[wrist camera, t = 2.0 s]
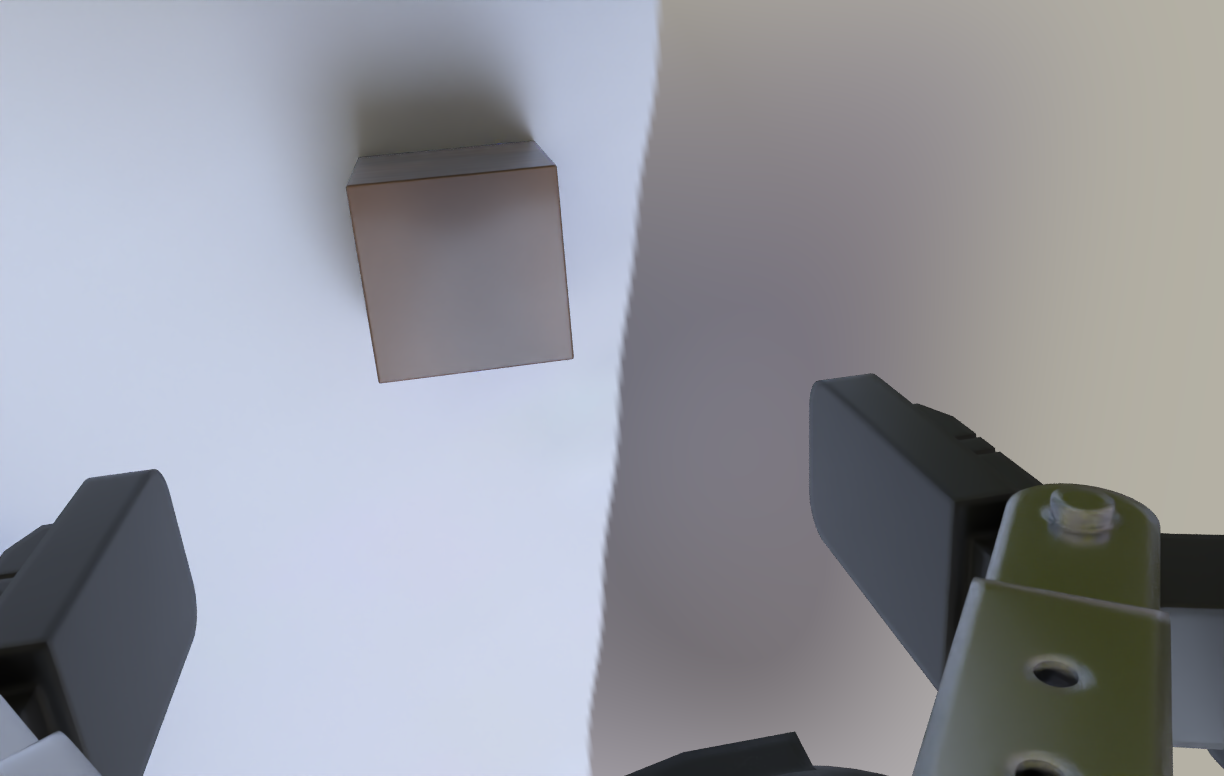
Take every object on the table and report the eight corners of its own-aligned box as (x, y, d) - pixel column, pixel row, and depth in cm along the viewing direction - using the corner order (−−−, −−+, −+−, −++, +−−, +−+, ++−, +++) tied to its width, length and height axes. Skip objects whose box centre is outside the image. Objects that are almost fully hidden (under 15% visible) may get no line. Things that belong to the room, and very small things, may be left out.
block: (385, 326, 27) (378, 384, 23) (357, 157, 25) (345, 185, 21) (550, 307, 28) (574, 359, 24) (534, 140, 26) (556, 164, 22)
